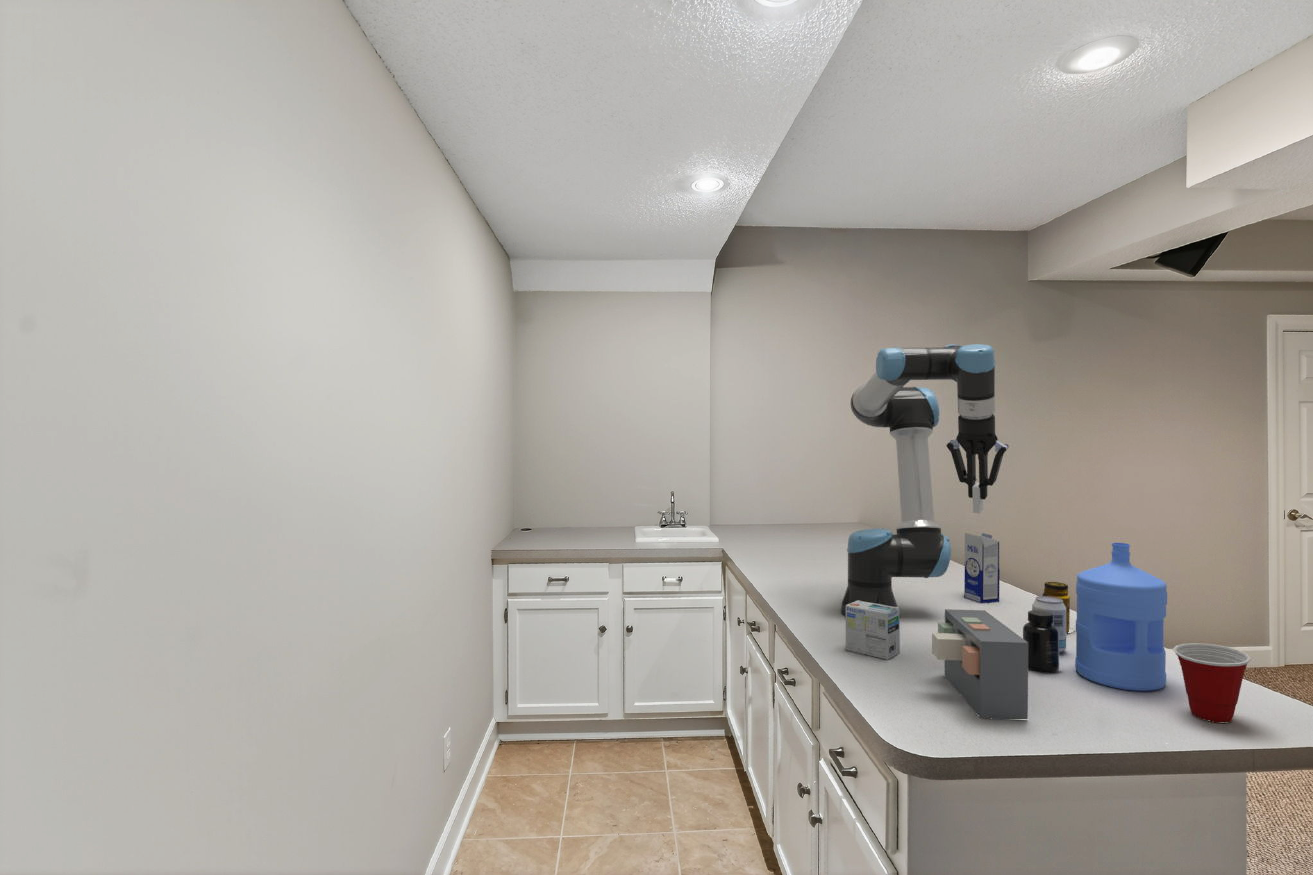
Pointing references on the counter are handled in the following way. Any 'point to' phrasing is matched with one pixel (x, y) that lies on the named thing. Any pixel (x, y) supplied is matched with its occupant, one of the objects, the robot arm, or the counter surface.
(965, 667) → the terracotta key
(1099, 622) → the water jug
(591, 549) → the counter surface
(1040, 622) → the supplement bottle
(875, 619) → the light bulb box
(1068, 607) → the condiment
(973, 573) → the milk carton
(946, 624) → the sage key
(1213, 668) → the plastic cup
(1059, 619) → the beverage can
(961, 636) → the ivory key
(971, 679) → the key console
